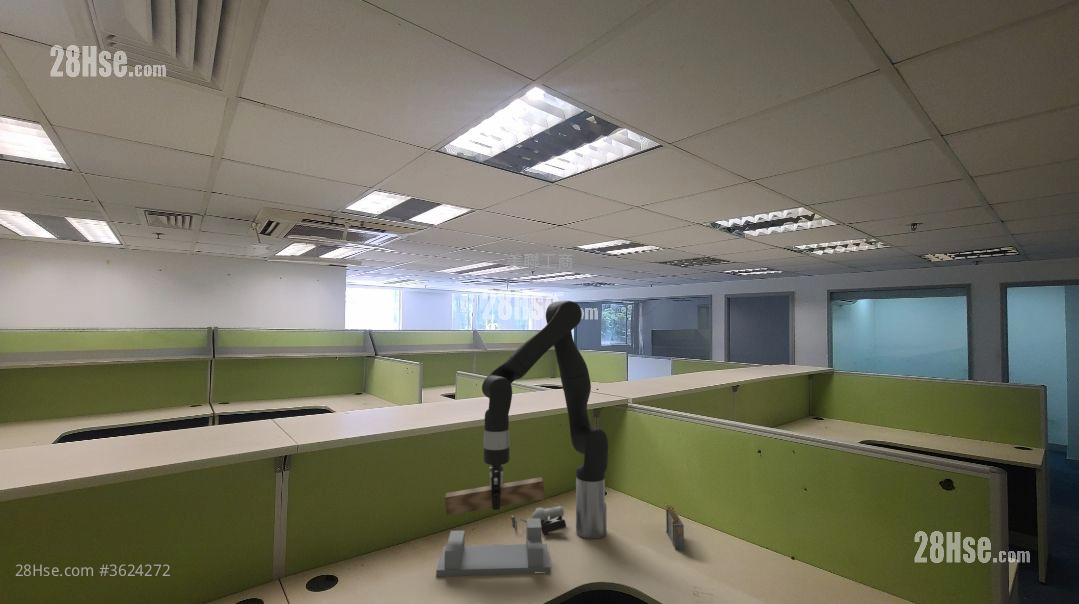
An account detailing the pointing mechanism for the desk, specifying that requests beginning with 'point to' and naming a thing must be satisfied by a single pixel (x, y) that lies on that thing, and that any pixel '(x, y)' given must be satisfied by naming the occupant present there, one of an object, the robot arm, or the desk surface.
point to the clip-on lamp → (547, 519)
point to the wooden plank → (483, 497)
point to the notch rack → (495, 555)
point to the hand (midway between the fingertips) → (496, 505)
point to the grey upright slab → (674, 528)
